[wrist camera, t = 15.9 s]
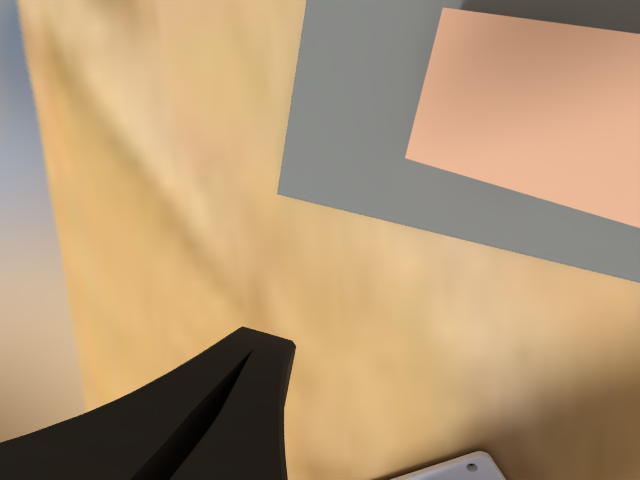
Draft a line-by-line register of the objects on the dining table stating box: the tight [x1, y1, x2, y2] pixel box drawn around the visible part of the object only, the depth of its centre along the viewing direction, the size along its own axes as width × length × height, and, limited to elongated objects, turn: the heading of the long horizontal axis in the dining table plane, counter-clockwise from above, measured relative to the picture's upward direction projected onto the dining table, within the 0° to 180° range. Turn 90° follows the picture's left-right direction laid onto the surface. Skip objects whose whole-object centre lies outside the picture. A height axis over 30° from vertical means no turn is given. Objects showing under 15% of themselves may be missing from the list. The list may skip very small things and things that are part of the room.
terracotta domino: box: [405, 8, 640, 228], centre depth 15 cm, size 2×5×9 cm
